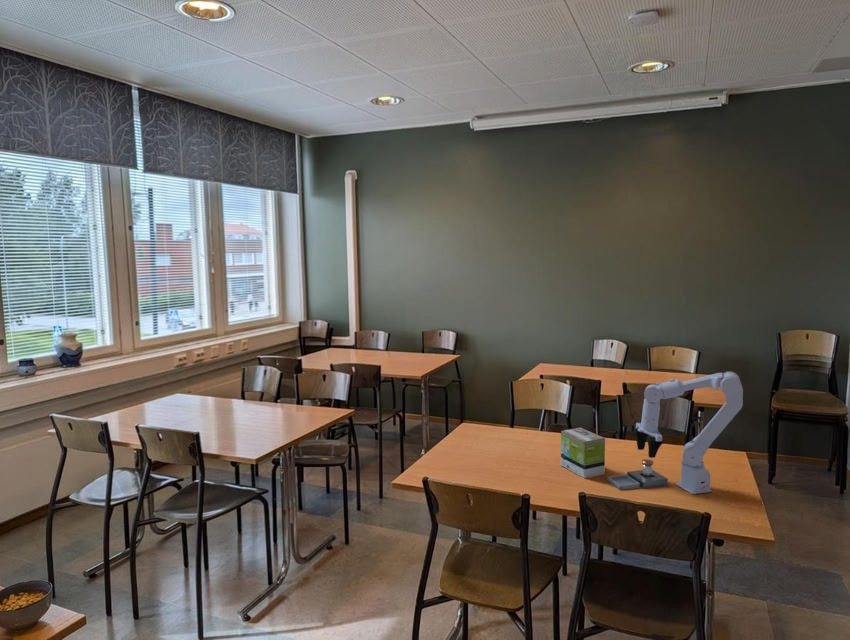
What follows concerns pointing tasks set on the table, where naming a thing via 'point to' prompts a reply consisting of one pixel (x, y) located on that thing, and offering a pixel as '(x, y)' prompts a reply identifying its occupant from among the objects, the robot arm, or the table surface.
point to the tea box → (583, 452)
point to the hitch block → (648, 479)
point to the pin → (647, 468)
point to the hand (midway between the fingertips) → (646, 453)
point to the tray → (623, 482)
